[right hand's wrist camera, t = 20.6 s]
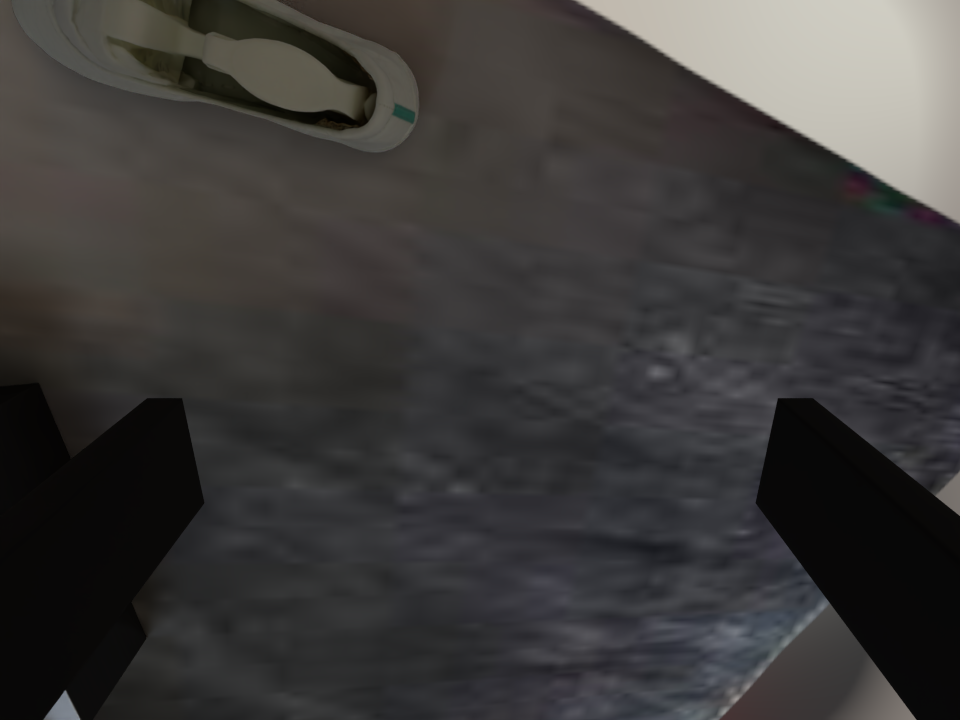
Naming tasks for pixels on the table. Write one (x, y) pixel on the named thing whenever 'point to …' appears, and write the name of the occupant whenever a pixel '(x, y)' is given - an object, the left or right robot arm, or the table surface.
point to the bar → (11, 476)
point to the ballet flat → (235, 62)
